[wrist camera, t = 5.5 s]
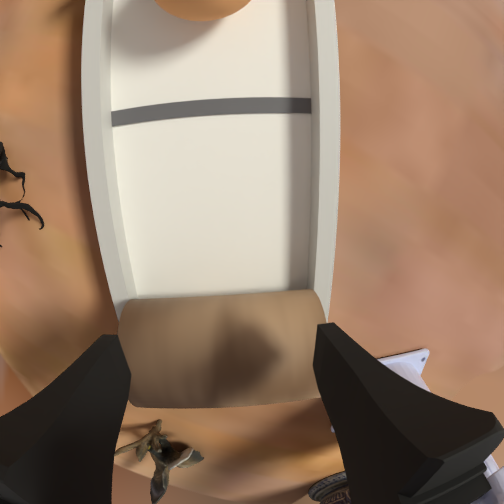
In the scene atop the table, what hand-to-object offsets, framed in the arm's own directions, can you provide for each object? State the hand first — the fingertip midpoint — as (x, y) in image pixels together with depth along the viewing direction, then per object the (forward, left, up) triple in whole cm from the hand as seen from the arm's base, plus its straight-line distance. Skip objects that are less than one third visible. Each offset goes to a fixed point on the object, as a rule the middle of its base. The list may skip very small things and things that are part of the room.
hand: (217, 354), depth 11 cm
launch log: (-4, 0, -8) cm, 9 cm away
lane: (+6, 0, -8) cm, 10 cm away
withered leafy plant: (-19, +7, -8) cm, 22 cm away
